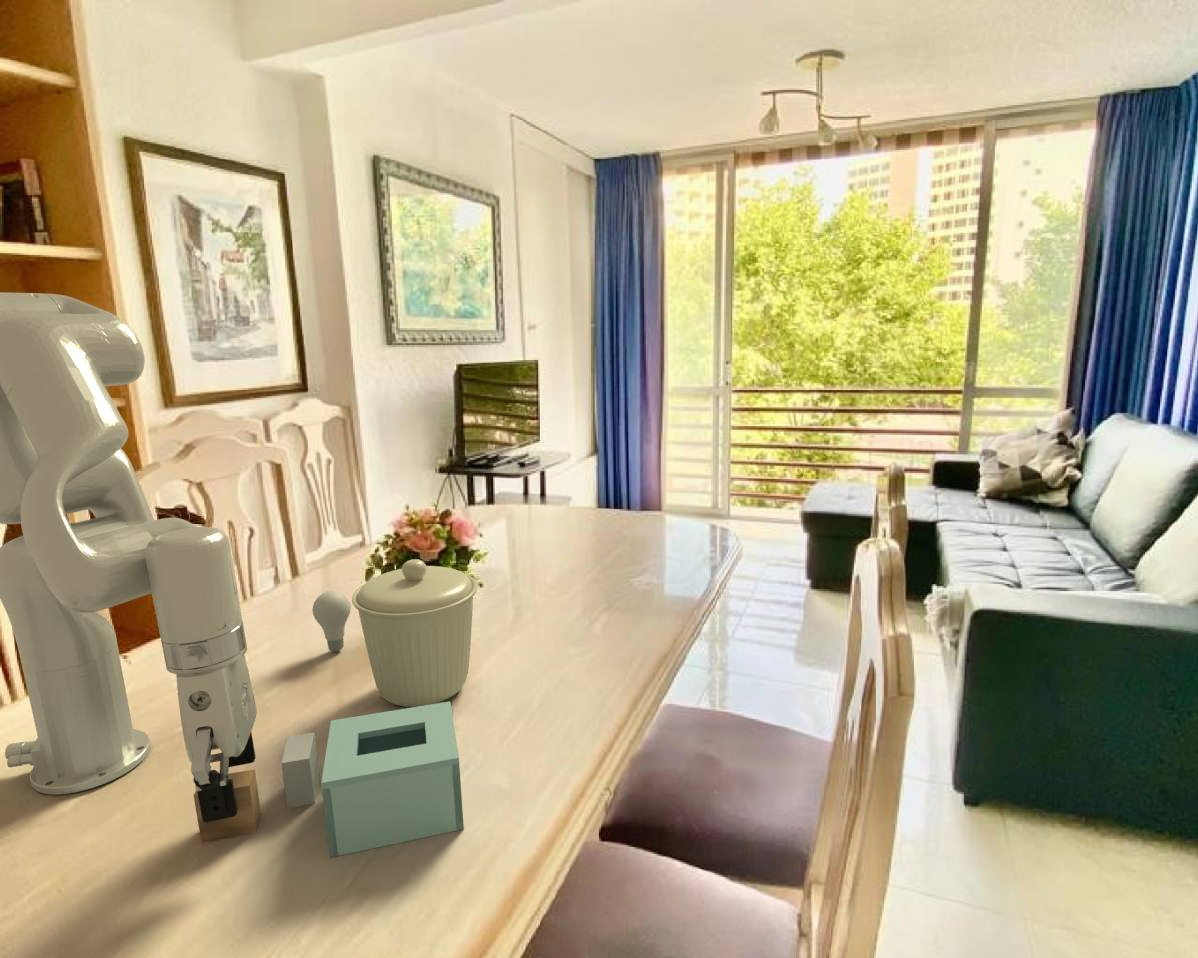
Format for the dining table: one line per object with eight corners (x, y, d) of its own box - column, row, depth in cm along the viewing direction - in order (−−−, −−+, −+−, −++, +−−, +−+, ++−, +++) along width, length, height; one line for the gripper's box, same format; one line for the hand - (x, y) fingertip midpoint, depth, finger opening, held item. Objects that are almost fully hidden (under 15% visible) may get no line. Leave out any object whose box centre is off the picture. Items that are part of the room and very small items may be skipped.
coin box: (330, 857, 73) (321, 782, 71) (338, 786, 84) (330, 720, 82) (463, 828, 77) (458, 757, 75) (454, 764, 88) (450, 701, 86)
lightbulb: (342, 660, 116) (336, 599, 114) (310, 658, 117) (303, 597, 115) (361, 644, 122) (356, 586, 119) (330, 642, 123) (324, 584, 121)
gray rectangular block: (314, 803, 81) (309, 758, 80) (287, 808, 81) (281, 763, 79) (319, 774, 87) (314, 732, 85) (293, 779, 86) (288, 736, 84)
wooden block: (201, 843, 75) (193, 795, 74) (208, 824, 78) (200, 778, 77) (256, 832, 77) (249, 785, 76) (261, 814, 80) (254, 769, 78)
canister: (359, 732, 96) (344, 589, 91) (364, 671, 112) (352, 548, 108) (490, 710, 100) (482, 573, 96) (476, 655, 117) (468, 536, 113)
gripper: (225, 675, 65) (253, 833, 69) (259, 609, 82) (280, 739, 85) (135, 690, 63) (169, 851, 67) (188, 620, 80) (213, 752, 83)
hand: (231, 789), depth 76 cm, fingers open, 9 cm apart
